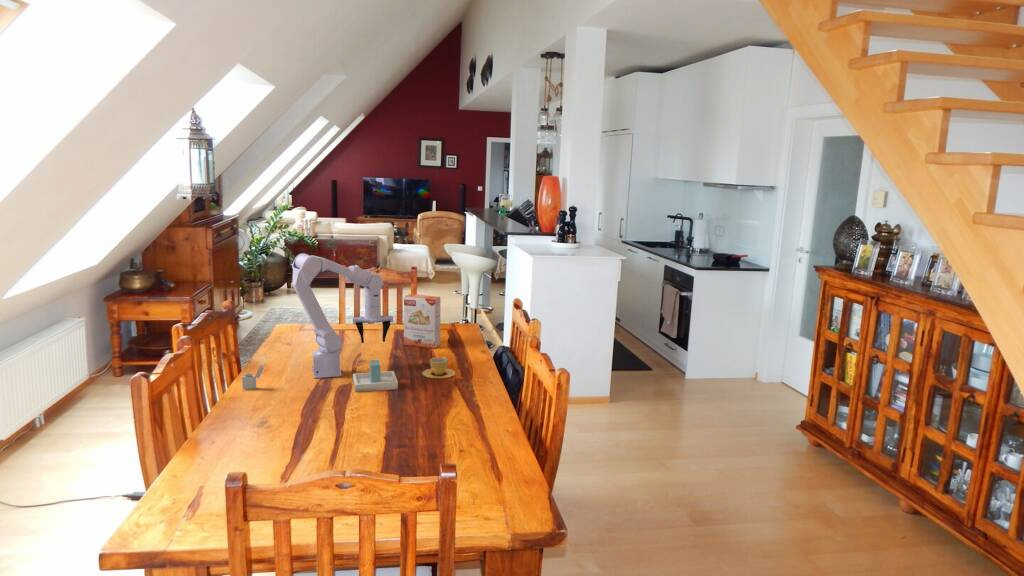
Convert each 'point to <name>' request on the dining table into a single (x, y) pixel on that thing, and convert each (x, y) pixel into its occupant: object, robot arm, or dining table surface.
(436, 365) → the cup
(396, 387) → the tray
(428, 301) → the cracker box
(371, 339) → the dining table surface
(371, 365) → the teal block
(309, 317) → the robot arm
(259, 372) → the lighter
